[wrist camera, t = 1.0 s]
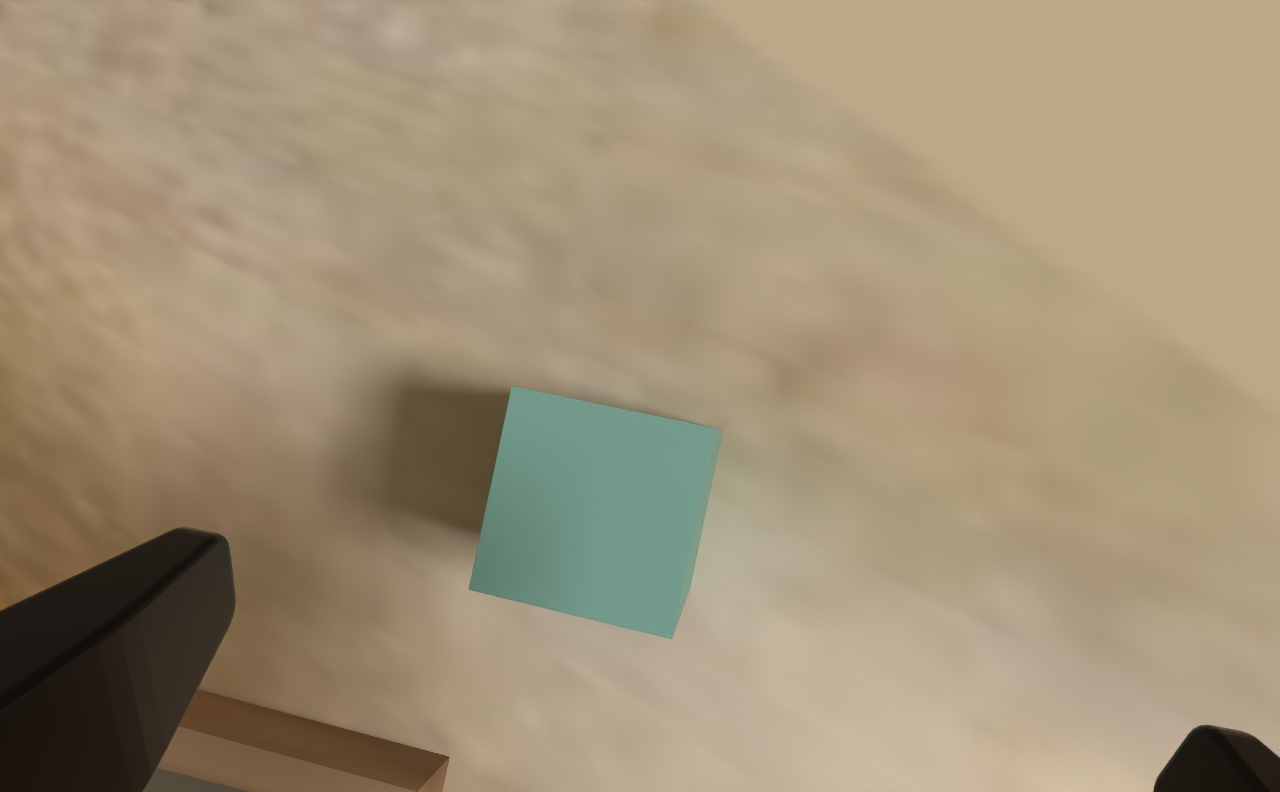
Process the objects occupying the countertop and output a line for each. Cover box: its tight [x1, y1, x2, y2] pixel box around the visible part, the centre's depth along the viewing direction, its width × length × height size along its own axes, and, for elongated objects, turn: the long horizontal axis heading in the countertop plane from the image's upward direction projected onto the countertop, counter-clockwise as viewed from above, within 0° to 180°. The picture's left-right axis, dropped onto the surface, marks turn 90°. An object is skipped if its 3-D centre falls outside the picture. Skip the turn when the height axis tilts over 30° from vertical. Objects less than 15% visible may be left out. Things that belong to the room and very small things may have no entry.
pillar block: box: [469, 386, 723, 639], centre depth 21 cm, size 4×4×6 cm
